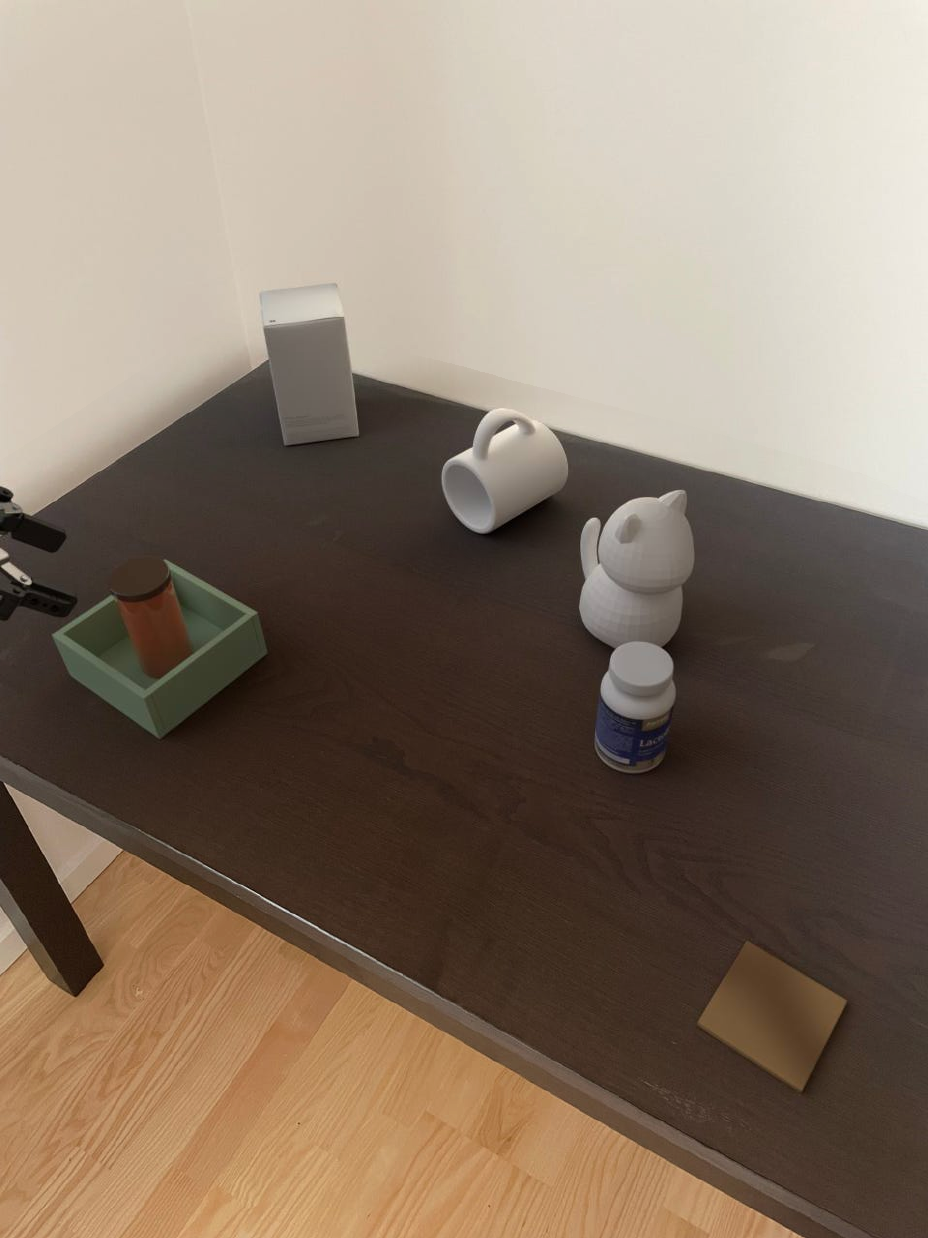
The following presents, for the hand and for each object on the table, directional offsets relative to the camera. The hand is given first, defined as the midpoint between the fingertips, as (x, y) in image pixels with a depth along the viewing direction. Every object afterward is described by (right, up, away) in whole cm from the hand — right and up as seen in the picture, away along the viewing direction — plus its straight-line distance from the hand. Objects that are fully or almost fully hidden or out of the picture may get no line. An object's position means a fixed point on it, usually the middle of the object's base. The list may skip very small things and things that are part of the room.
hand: (66, 572), depth 77 cm
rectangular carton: (+14, +20, +39) cm, 46 cm away
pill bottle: (+45, -14, +1) cm, 47 cm away
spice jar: (+5, -7, +10) cm, 13 cm away
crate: (+5, -8, +10) cm, 14 cm away
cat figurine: (+46, -4, +12) cm, 48 cm away
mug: (+36, +8, +25) cm, 44 cm away
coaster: (+51, -29, -15) cm, 61 cm away
